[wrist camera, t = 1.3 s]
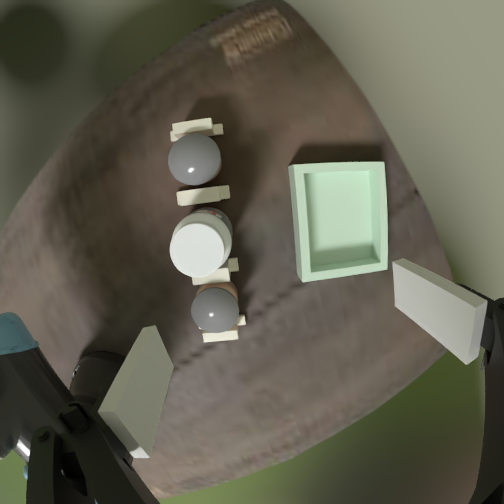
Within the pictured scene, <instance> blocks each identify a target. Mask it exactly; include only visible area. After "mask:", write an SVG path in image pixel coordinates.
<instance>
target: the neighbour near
mask: <svg viewBox="0 0 504 504" xmlns="http://www.w3.org/2000/svg"><path fill="white" fill-rule="evenodd" d="M168 165H169V169H170V171H171V173H172V175H173V176H174V177H175V178H176V179H177V180H178V181H180V182H182V183H184V184H187V185H200V184H205V183H208V182H210V181H212V180H213V179H214V178H216V176H217V175H218V174H219V172H220V170H221V166H222V159H221V155H220V151H219V148H218V146H217V144H216V143H215V142H214V141H213V140H212V139H211V138H210V137H208V136H206V135H203V134H199V133H192V134H187V135H185V136H183V137H181V138H180V139H178V140H177V141H176V142H175V143H174V144H173V146H172V147H171V149H170V152H169V156H168Z"/></svg>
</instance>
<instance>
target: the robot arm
mask: <svg viewBox="0 0 504 504" xmlns="http://www.w3.org/2000/svg"><path fill="white" fill-rule="evenodd" d="M393 275H394V291H395V306H396V307H397V308H398V309H399V310H401V311H402V312H403V313H405V314H406V315H407V316H408V317H410V318H411V319H412V320H413V321H415V322H416V323H417V324H418V325H419V326H421V327H422V328H423V329H424V330H426V331H427V332H428V333H429V334H430V335H432V336H433V337H434V338H435V339H436V340H438V341H439V342H440V343H441V344H442V345H444V346H445V347H446V348H447V349H448V350H450V351H451V352H452V353H453V354H454V355H456V356H457V357H458V358H459V359H460V360H461V361H462V362H464V363H465V364H466V365H467V364H468V363H470V362H471V361H473V360H474V359H476V358H477V357H478V353H479V349H480V345H481V346H482V347H483V348H485V353H484V357H483V361H482V365H481V370H482V369H483V366H485V424H484V437H483V447H482V454H481V461H480V468H479V474H478V480H477V484H476V488H475V491H474V493H473V495H472V497H471V499H470V501H469V504H504V298H499V299H497V300H495V301H494V300H492V299H490V298H488V297H486V296H484V295H482V294H481V293H478V292H476V291H475V290H473V289H472V290H471V288H469V287H467V286H465V285H462V284H457V283H453V282H451V281H449V280H447V279H445V278H443V277H441V276H439V275H437V274H435V273H433V272H431V271H429V270H427V269H425V268H423V267H421V266H418V265H416V264H414V263H412V262H410V261H408V260H406V259H404V258H403V259H400V260H397V261H394V262H393ZM38 346H39V344H38V342H37V341H35V340H34V338H33V337H32V335H31V334H30V332H29V331H28V329H27V328H26V326H25V324H24V323H23V321H22V320H21V318H20V317H19V316H18V315H16V314H14V313H12V312H5V313H2V314H0V459H3V458H4V457H5V456H7V454H8V453H10V452H11V451H12V450H13V451H15V452H16V453H17V454H18V455H19V456H20V457H21V458H22V459H23V460H24V461H25V462H26V464H27V465H26V466H24V472H23V474H24V476H25V478H26V479H27V491H26V492H27V493H26V504H160V503H159V502H158V500H157V499H156V498H155V497H154V495H153V494H152V493H151V492H150V490H149V489H148V488H147V486H146V485H145V484H144V482H143V481H142V480H141V478H140V477H139V475H138V474H137V473H136V471H135V470H134V468H133V467H132V465H131V464H132V461H133V457H134V458H150V457H151V452H152V448H153V444H154V440H155V436H156V432H157V428H158V424H159V420H160V416H161V412H162V408H163V404H164V401H165V397H166V393H167V389H168V386H169V382H170V379H171V375H172V371H173V368H174V366H173V364H172V362H171V359H170V357H169V355H168V353H167V351H166V348H165V346H164V344H163V342H162V339H161V337H160V335H159V332H158V330H157V328H156V325H155V326H150V327H145V328H143V329H142V330H141V332H140V334H139V336H138V337H137V339H136V341H135V343H134V345H133V346H132V348H131V350H130V352H129V353H128V355H127V357H126V358H125V357H123V356H120V355H117V354H114V353H110V352H92V353H89V354H87V355H85V356H84V357H83V358H82V359H81V360H80V362H79V363H78V364H77V365H76V367H75V369H74V371H73V375H72V382H71V385H70V390H68V389H67V387H66V386H65V385H64V383H63V382H62V381H61V380H60V378H59V377H58V375H57V374H56V373H55V371H54V370H53V368H52V367H51V365H50V364H49V362H48V361H47V359H46V358H45V356H44V355H43V353H42V352H41V350H40V348H39V347H38Z"/></svg>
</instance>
